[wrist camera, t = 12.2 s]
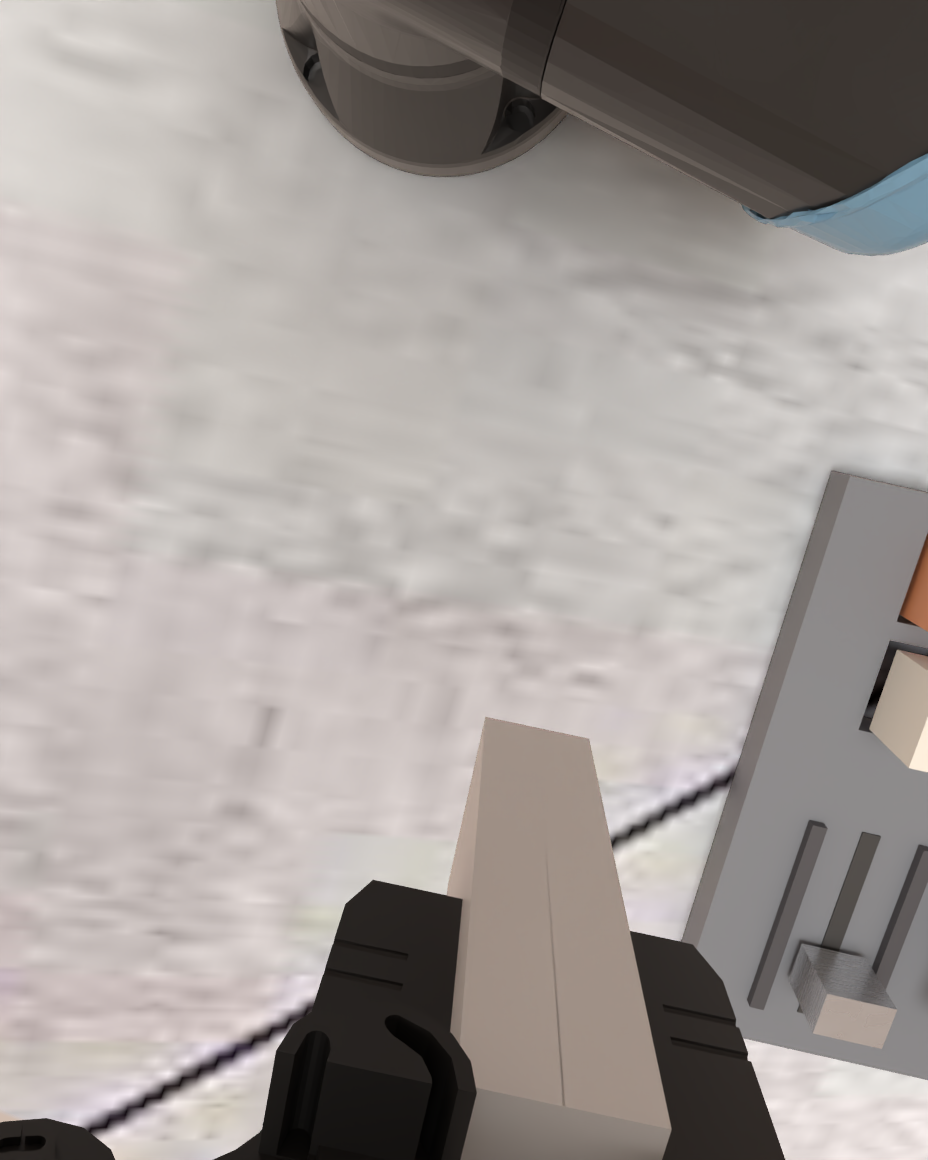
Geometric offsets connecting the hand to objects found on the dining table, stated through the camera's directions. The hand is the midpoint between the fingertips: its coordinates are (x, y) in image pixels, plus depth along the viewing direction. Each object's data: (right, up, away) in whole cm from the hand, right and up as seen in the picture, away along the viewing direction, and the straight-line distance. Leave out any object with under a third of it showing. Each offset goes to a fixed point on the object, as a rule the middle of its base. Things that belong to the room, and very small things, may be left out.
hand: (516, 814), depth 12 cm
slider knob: (+19, -18, +35) cm, 44 cm away
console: (+23, -8, +36) cm, 44 cm away
